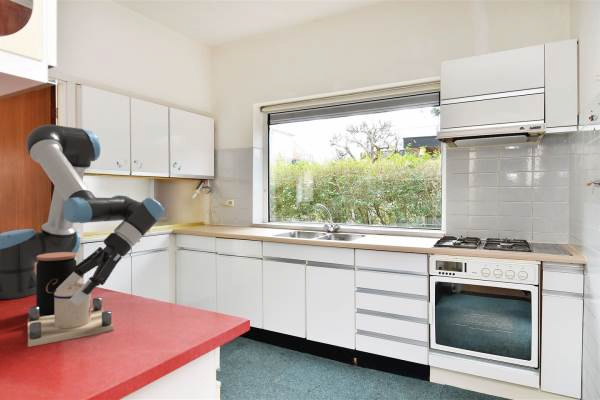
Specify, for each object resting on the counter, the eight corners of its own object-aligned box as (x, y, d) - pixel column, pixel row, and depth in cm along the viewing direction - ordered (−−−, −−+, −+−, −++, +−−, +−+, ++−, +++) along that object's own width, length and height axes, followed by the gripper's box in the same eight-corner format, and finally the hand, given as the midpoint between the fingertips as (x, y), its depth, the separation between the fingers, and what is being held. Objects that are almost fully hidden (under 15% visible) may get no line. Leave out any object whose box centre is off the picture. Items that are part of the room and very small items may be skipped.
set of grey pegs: (29, 319, 105) (29, 307, 105) (101, 307, 116) (101, 296, 116) (29, 340, 90) (29, 326, 90) (112, 325, 101) (112, 312, 101)
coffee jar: (43, 318, 110) (43, 259, 109) (31, 311, 116) (31, 254, 116) (82, 310, 118) (82, 254, 118) (68, 303, 125) (68, 251, 124)
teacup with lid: (98, 322, 104) (98, 281, 103) (62, 331, 96) (62, 287, 96) (77, 313, 110) (77, 275, 110) (42, 322, 103) (42, 281, 102)
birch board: (27, 324, 105) (27, 319, 105) (102, 312, 117) (102, 307, 117) (27, 347, 90) (28, 340, 90) (113, 330, 101) (113, 325, 101)
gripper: (148, 252, 106) (91, 315, 96) (116, 243, 123) (64, 296, 113) (130, 235, 102) (68, 299, 92) (99, 228, 119) (44, 281, 109)
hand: (66, 297), depth 102 cm, fingers open, 13 cm apart
